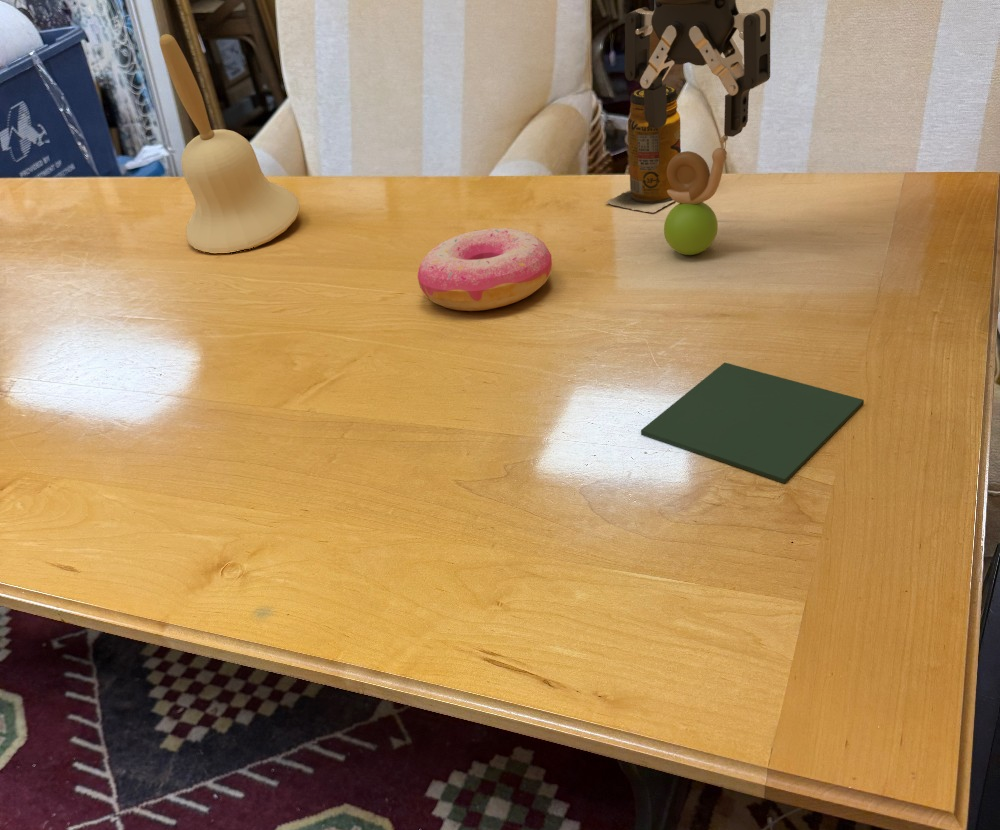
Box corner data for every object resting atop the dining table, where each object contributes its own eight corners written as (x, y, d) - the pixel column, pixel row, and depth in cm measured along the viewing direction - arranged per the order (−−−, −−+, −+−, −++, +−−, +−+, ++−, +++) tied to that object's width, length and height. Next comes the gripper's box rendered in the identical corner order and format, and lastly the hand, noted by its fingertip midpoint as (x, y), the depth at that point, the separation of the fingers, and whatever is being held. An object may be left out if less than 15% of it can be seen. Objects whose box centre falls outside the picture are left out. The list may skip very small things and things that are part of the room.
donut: (577, 273, 95) (573, 227, 92) (507, 329, 87) (500, 280, 84) (474, 258, 102) (467, 215, 99) (399, 309, 94) (389, 263, 91)
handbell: (320, 197, 123) (251, 0, 104) (279, 263, 113) (195, 58, 95) (220, 202, 127) (137, 13, 109) (172, 266, 117) (72, 70, 99)
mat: (724, 366, 76) (724, 362, 76) (863, 404, 69) (864, 399, 69) (640, 434, 70) (640, 429, 69) (784, 483, 62) (785, 479, 62)
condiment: (696, 190, 110) (696, 85, 103) (653, 214, 106) (650, 105, 99) (647, 182, 115) (644, 81, 107) (604, 205, 110) (598, 100, 103)
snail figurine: (715, 266, 92) (716, 145, 85) (656, 260, 95) (652, 142, 88) (734, 245, 95) (736, 127, 88) (676, 240, 99) (674, 125, 91)
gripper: (792, -76, 76) (781, 125, 86) (651, -69, 84) (655, 113, 94) (746, -60, 72) (739, 150, 82) (602, -55, 80) (611, 135, 90)
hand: (694, 130), depth 88 cm, fingers open, 8 cm apart
